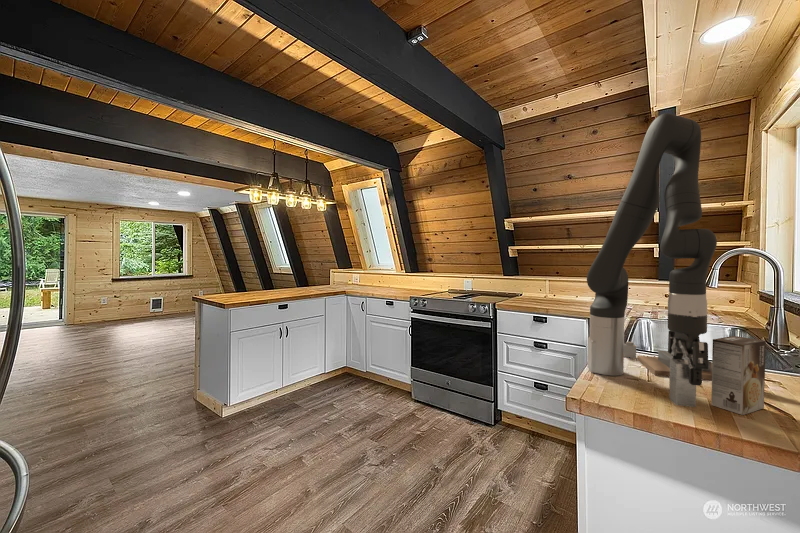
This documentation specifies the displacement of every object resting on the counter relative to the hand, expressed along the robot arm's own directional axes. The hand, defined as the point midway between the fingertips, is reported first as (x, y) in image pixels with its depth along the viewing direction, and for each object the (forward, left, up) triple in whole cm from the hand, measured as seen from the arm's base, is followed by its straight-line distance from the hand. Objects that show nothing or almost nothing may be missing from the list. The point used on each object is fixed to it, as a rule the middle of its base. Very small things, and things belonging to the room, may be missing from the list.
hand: (686, 378), depth 89 cm
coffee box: (+10, +1, -6) cm, 12 cm away
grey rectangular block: (-3, +41, -6) cm, 41 cm away
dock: (+10, +29, -6) cm, 31 cm away
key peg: (-1, 0, -6) cm, 6 cm away
